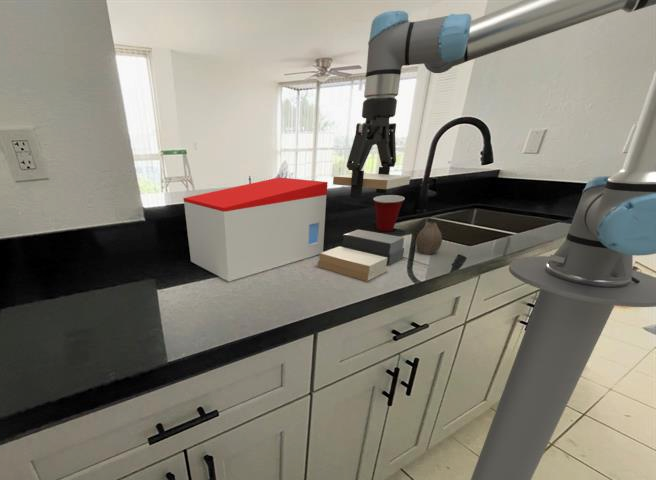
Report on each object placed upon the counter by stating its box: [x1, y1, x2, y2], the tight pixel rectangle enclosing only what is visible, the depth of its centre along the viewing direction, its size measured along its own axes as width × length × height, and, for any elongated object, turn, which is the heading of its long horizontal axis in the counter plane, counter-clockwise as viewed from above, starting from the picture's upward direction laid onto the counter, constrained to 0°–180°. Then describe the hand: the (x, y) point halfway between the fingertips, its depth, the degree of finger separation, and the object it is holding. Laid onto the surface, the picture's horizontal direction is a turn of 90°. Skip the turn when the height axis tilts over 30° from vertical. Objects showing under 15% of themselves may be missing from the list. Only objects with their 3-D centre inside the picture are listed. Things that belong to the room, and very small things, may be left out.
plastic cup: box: [372, 194, 406, 232], centre depth 125 cm, size 11×11×12 cm
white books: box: [317, 245, 388, 282], centre depth 89 cm, size 15×9×4 cm, turn 42°
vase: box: [415, 222, 443, 255], centre depth 99 cm, size 7×7×9 cm
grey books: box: [342, 229, 405, 266], centre depth 98 cm, size 15×9×6 cm, turn 42°
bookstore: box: [183, 176, 328, 282], centre depth 97 cm, size 21×35×21 cm, turn 127°
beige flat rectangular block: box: [332, 172, 411, 190], centre depth 86 cm, size 15×11×2 cm
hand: (368, 195), depth 87 cm, fingers closed on beige flat rectangular block, 11 cm apart
